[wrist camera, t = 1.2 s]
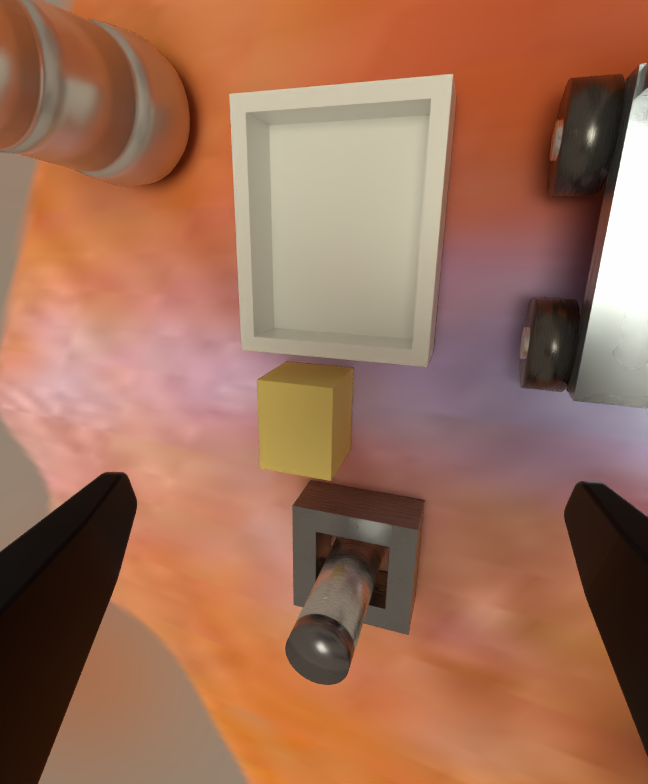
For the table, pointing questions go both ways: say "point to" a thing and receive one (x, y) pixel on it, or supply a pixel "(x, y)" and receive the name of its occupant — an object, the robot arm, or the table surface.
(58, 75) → the plastic bottle
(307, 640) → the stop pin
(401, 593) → the pin bracket
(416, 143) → the tray
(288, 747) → the table surface
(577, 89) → the trolley
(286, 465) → the block
